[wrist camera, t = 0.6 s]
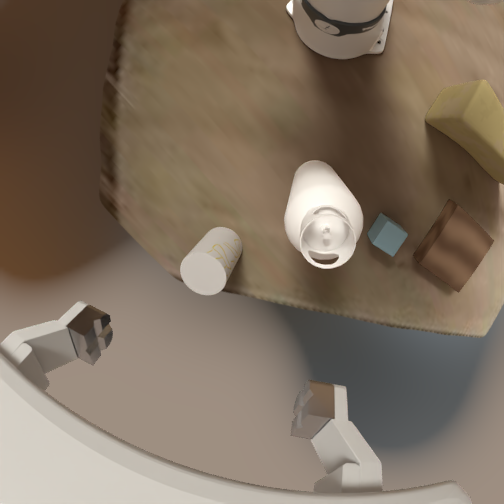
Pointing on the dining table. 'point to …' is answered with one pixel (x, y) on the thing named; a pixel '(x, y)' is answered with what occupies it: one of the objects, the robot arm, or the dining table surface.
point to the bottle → (322, 215)
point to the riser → (453, 246)
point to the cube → (387, 234)
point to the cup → (211, 261)
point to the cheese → (473, 123)
